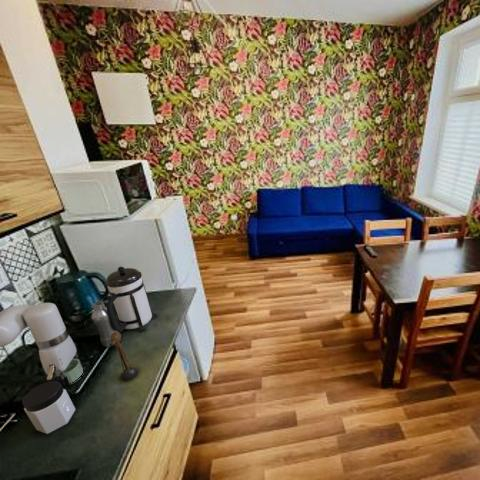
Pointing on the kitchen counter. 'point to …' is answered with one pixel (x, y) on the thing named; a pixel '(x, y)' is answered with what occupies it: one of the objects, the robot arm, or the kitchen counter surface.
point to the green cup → (73, 370)
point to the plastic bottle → (103, 323)
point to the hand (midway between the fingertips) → (70, 376)
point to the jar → (48, 406)
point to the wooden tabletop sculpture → (123, 358)
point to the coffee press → (128, 299)
